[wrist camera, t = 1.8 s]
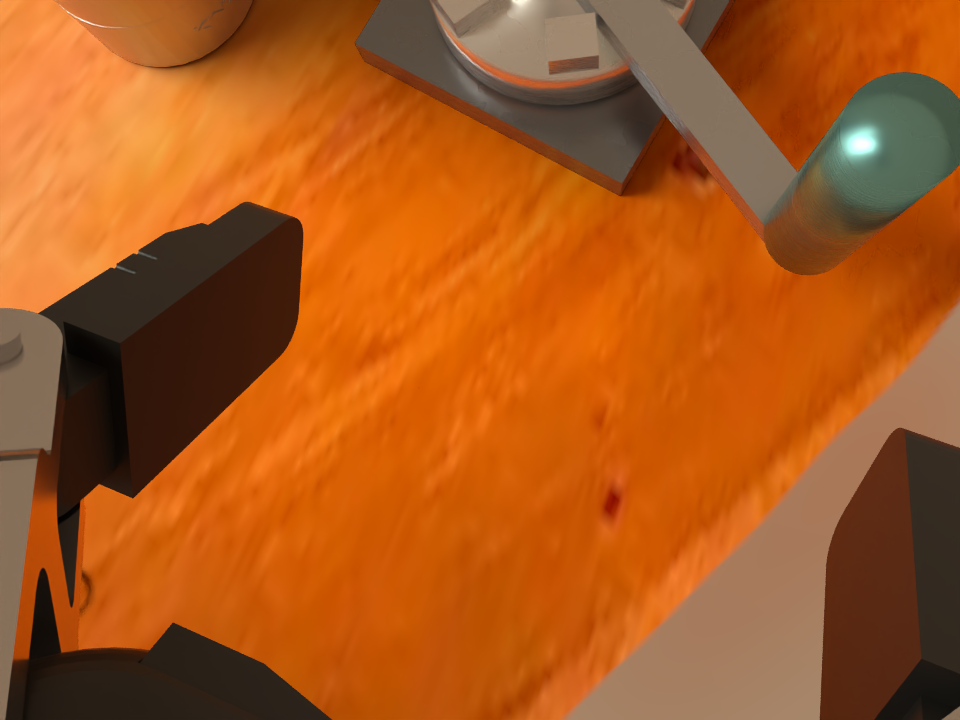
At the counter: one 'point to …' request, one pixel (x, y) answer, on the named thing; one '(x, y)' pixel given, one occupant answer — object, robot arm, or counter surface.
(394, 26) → the base plate
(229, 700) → the robot arm
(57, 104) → the counter surface
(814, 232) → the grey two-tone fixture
